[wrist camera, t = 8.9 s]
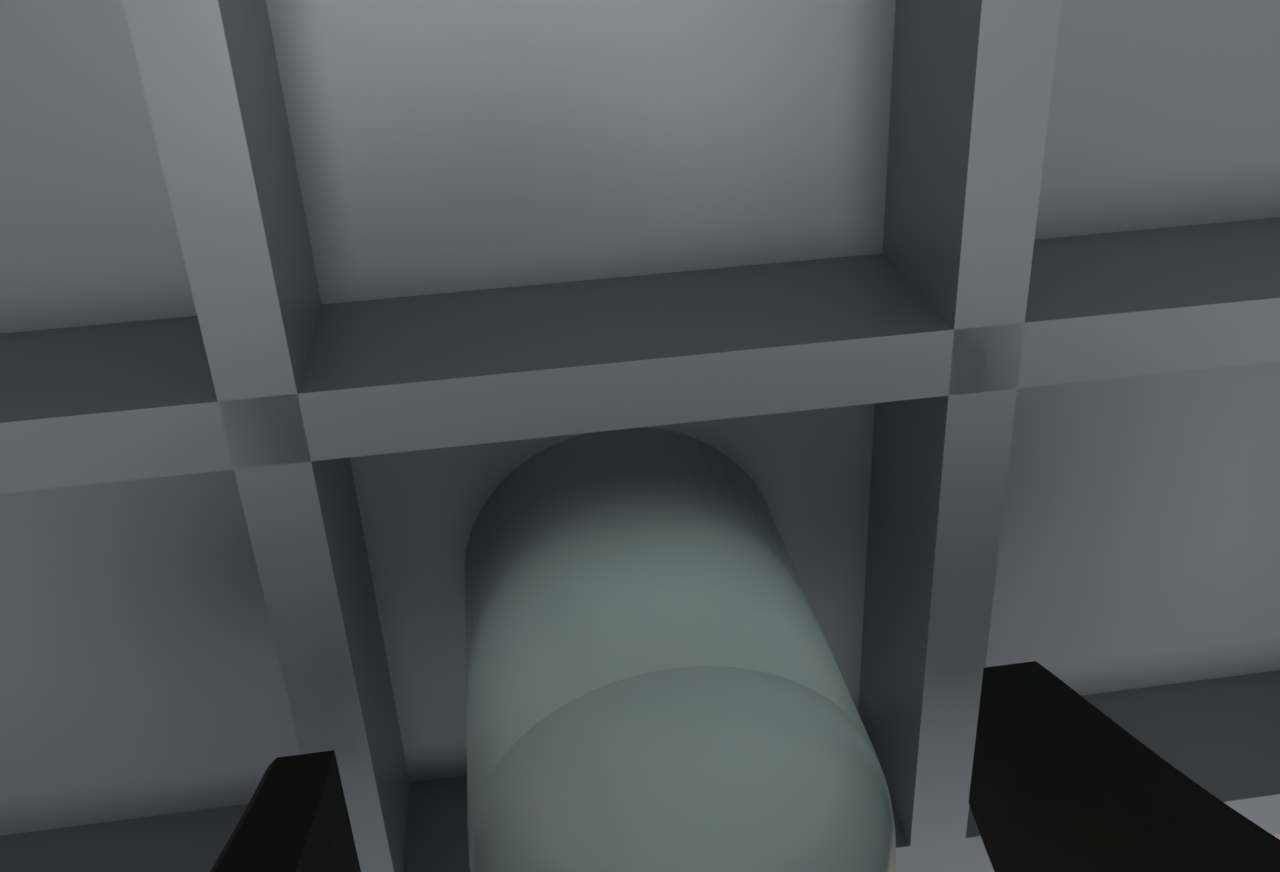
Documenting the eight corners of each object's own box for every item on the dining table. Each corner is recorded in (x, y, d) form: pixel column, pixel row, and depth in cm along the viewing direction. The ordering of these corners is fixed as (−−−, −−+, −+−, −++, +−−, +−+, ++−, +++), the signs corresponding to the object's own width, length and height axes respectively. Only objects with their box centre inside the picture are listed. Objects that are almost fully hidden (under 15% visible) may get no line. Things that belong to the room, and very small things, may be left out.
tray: (-139, 847, 19) (-257, 1053, 16) (-778, -450, 11) (-1261, -548, 8) (1317, 658, 21) (1464, 805, 18) (1648, -521, 13) (2008, -617, 10)
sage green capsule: (483, 705, 18) (497, 1206, 11) (446, 445, 16) (439, 881, 9) (774, 669, 18) (944, 1133, 12) (776, 410, 16) (984, 807, 10)
